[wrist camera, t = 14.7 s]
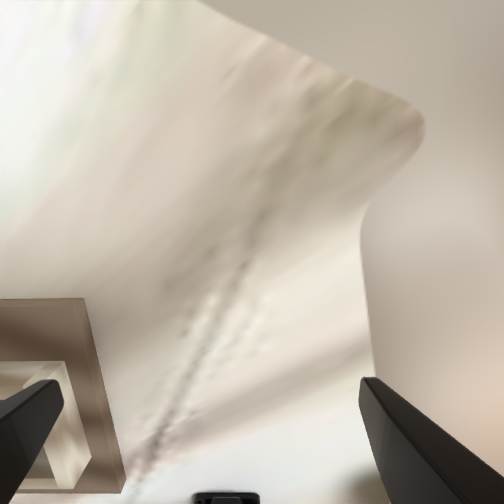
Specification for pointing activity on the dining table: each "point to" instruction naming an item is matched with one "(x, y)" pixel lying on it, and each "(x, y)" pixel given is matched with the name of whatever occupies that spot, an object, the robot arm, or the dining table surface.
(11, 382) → the socket board
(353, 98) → the dining table surface
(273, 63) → the dining table surface
